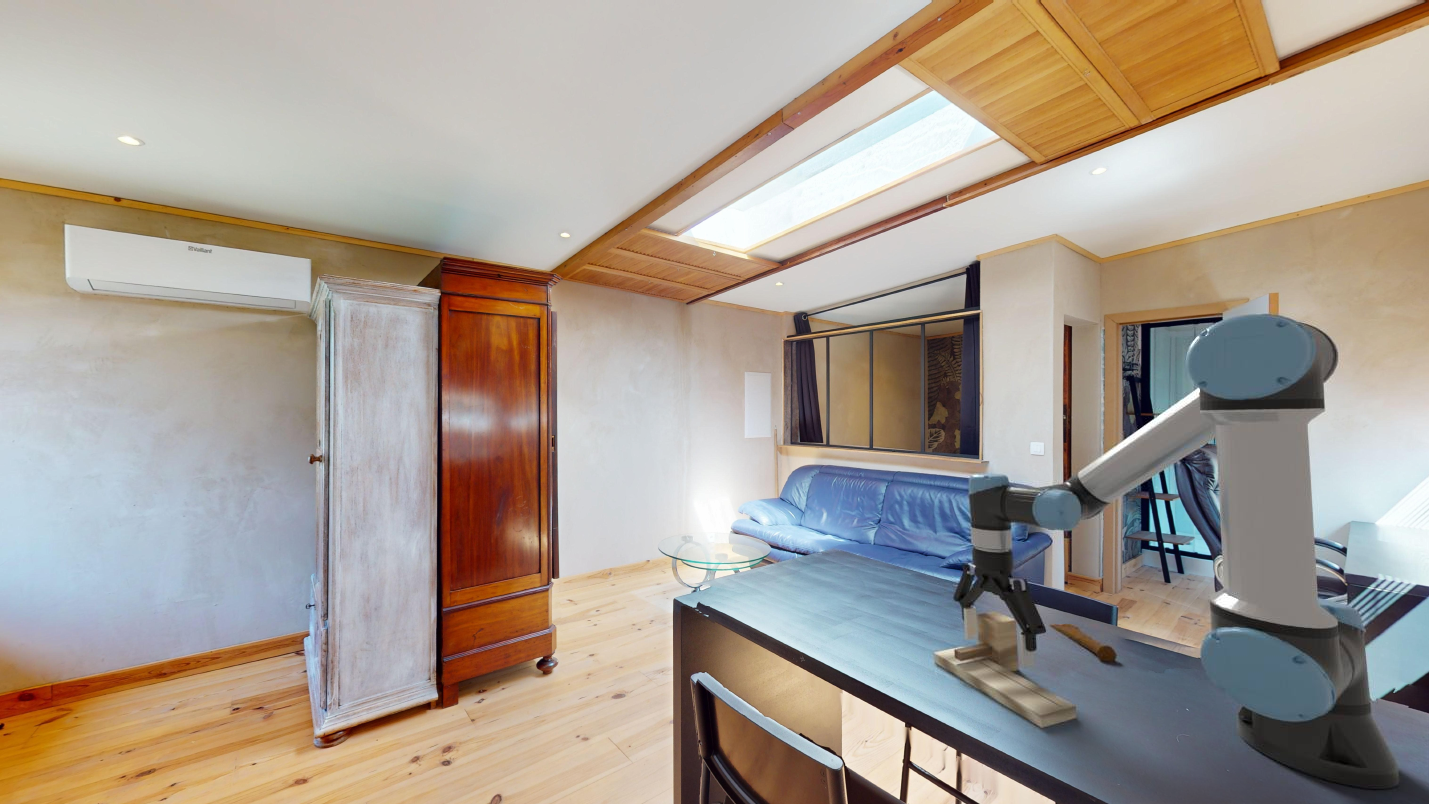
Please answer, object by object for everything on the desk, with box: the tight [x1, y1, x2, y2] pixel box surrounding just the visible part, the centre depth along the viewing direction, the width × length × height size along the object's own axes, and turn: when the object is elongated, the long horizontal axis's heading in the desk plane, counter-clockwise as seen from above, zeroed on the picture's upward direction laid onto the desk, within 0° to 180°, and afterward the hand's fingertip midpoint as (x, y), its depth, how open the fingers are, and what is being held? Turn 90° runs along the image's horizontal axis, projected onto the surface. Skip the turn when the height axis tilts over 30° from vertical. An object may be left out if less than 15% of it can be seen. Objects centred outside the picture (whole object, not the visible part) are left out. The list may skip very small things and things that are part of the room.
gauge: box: [953, 611, 1020, 672], centre depth 99 cm, size 5×13×10 cm, turn 108°
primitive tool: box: [1048, 623, 1117, 663], centre depth 110 cm, size 19×6×4 cm, turn 173°
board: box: [933, 646, 1077, 729], centre depth 92 cm, size 24×8×2 cm, turn 18°
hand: (997, 651), depth 100 cm, fingers open, 13 cm apart
